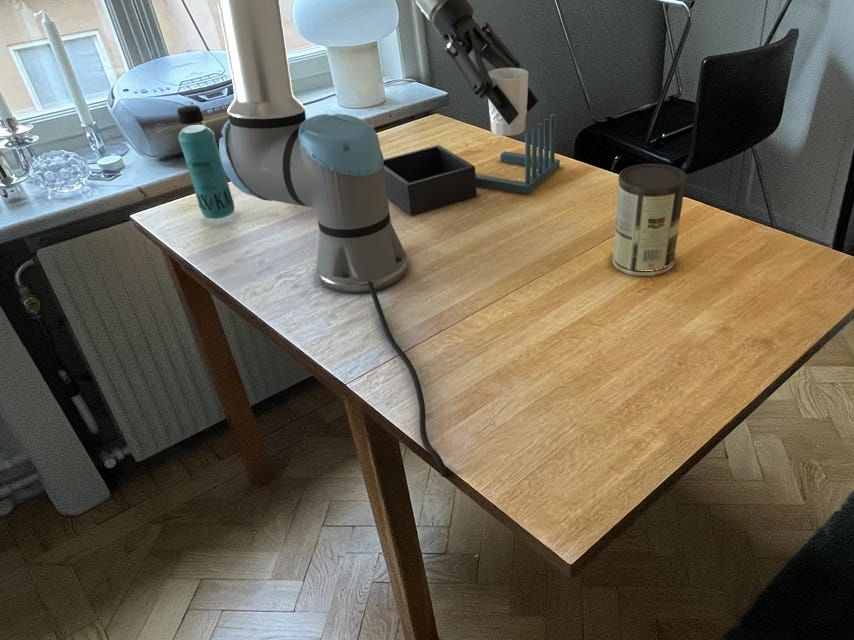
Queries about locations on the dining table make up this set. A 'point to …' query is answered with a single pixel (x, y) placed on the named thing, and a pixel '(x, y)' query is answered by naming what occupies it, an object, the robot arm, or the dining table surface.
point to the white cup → (517, 93)
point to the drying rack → (528, 162)
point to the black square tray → (428, 179)
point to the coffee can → (648, 218)
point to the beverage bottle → (204, 165)
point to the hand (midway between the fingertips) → (523, 112)
